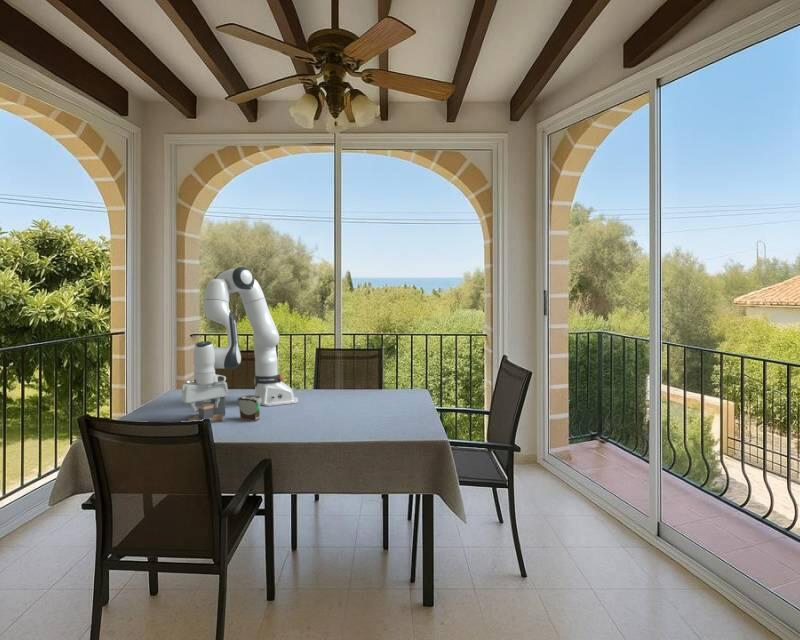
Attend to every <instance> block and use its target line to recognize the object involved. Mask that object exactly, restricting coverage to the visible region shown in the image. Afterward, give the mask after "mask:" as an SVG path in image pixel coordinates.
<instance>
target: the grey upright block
mask: <svg viewBox="0 0 800 640" xmlns="http://www.w3.org/2000/svg"><path fill="white" fill-rule="evenodd" d="M215 401H216V400H215V399H211V404H215ZM217 414H223V417H225V416H226V397H220V401H219V403H218V408H213V415H217Z"/></svg>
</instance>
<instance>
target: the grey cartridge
mask: <svg viewBox="0 0 800 640" xmlns="http://www.w3.org/2000/svg"><path fill="white" fill-rule="evenodd" d="M204 403H210V404H211V399H209V400H203V401H202V404H204Z"/></svg>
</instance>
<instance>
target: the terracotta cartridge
mask: <svg viewBox="0 0 800 640" xmlns="http://www.w3.org/2000/svg"><path fill="white" fill-rule="evenodd" d="M198 416H199V418H201V419H204V418H213V404H210V403H204V404H203V403H199V404H198Z"/></svg>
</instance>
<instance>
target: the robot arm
mask: <svg viewBox="0 0 800 640" xmlns="http://www.w3.org/2000/svg"><path fill="white" fill-rule="evenodd" d="M232 293H238V294H239V295H240V298H241V302H242V305H243V308H244V310H245V311H244V312H245V313H246V317H247V320H248V321H249V325H250V326H251V328H252V329H251V330H252V331H253V333H252V341H253V352H254V354H253V355H254V360H255V361H254V366H255V367H254V370H255V374H254V378H253V380H254V387H255V389H254V395H257V396H260V398H261V400H262V402H261V403H260V406H265V407H271V406H273V407H274V406H279V405H280V406H282V405H290V404H296V403H298V402H299V398H298V397H297V396H295V394H294V391H293V389H292V387H291V386H289V385H288V384H286V383H285V382H283V381H284V375H281V374H279V369H278V368H279V366H278V365H279V364H278V361H279V359H278V355H277V354H278V353H277V346H278V344H279V342H280V333H279V331H278V329H277V327H276V324H275V322H274V319H273V317H272V314H271V311H270V309H269V307H268V306H269V305H268V303H267V300H266V296H265V294H264V292H263V289H262V287H261V285H260V283H259V282H258V280H256V279H255V278H254V275H253V273H252V271H251V270H250V269H249V268H247V267H243V266H242V267H241V266H238V267H236V268H235V267H234V268H230V269H227V270H224V271H222V272H220V273H217V274H216V275H215V277H214V278H212V279H211V280H209V281H208V282H207V284H206V288H205V292H204V297H203V313H204V314H205V316H206V317H207V318H208V319H209V320H211V321H213V322H215V323H218V324H221V325H222V326H224V327H225V329H226V336H227V346H226V347H225V346H224V347H223V346H221V347H220V346H219V347H217V346H214V344H213V342H212V341H209V340H203V341H199V342H196V343H195V345H194V347H193V366H194V370H193V380H188V381H184V382H183V383H182V384H181V390H182V391H181V402H183V403H184V404H190V406H191V407H192V412H193V413H197V412H198V413H199V407H196V402H203V400H209V399H215V400H216V401H215V404H213V408H218V403H219V401H220V397H225V398H226V397H227V396H228V394H229V389H228V383H227V382H226V380H227V376H225V375H222V374H221V375H220V374H219V373H216V369H224V370H235V369H236V368H237V367H239V366H240V365H241V363H242V355H241V350H240V344H239V333H238V325H237V319H236V316H235V313H233V312H231V310H230V304H229V303H230V295H231V294H232Z"/></svg>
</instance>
